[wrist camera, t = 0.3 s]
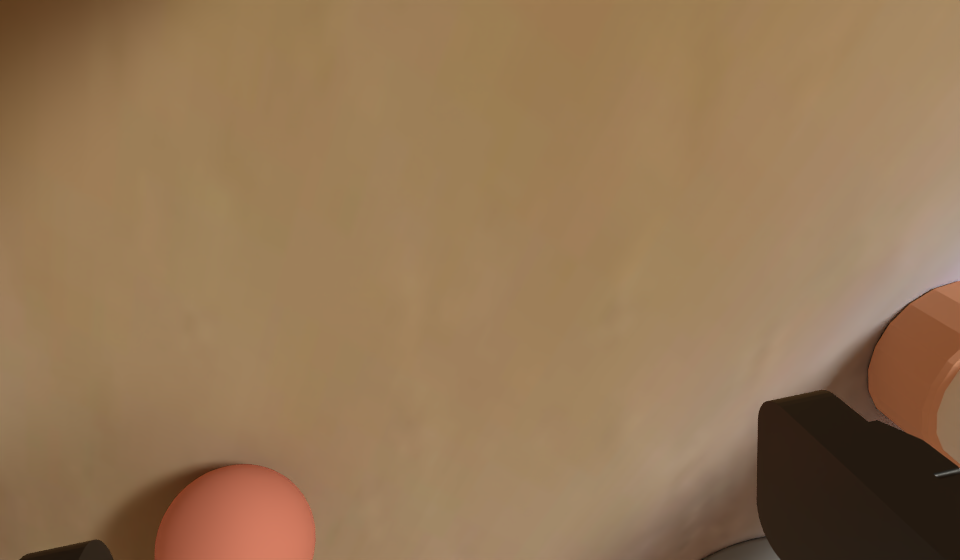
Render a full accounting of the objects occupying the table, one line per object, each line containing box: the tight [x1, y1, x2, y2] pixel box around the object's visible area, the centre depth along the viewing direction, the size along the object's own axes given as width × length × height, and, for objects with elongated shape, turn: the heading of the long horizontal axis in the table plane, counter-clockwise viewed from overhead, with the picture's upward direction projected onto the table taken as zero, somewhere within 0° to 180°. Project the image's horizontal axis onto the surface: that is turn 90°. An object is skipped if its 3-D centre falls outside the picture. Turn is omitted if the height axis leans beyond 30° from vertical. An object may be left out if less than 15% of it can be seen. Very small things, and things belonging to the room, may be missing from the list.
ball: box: [155, 464, 316, 560], centre depth 26 cm, size 6×6×6 cm
